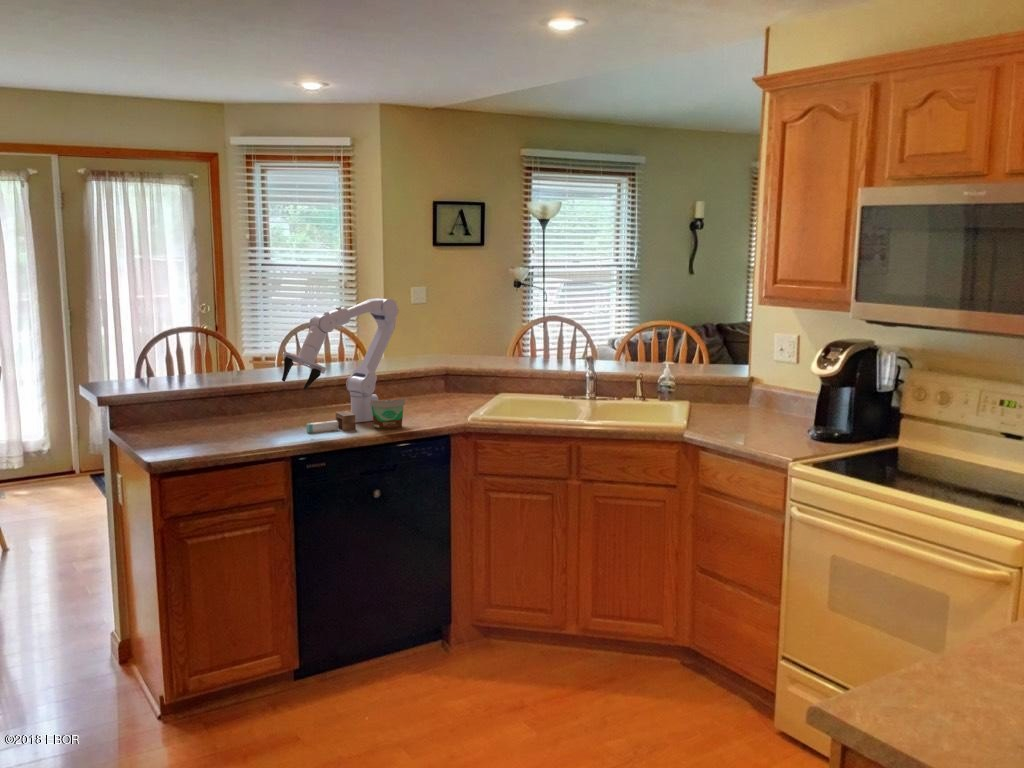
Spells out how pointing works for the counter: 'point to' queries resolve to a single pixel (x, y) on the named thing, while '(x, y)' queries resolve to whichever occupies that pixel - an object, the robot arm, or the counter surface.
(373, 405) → the food container
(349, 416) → the angled brown block
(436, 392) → the counter surface
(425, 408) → the counter surface
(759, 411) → the counter surface
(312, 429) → the white teal bar
